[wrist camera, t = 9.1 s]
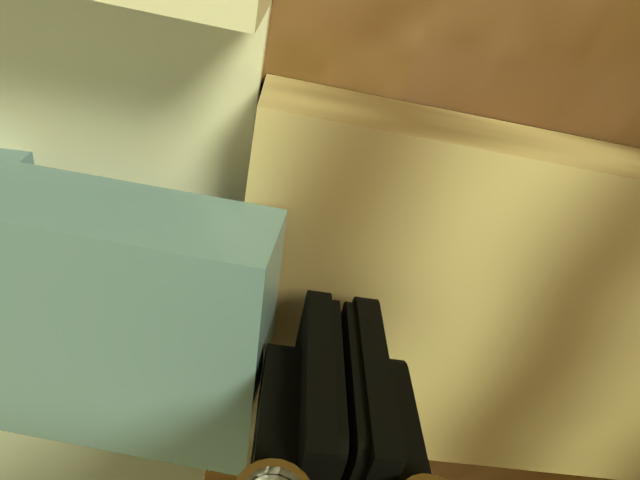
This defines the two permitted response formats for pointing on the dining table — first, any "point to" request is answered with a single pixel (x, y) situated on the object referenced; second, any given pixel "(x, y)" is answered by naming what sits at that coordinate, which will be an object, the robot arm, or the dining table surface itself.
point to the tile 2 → (134, 315)
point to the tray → (129, 132)
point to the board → (468, 267)
